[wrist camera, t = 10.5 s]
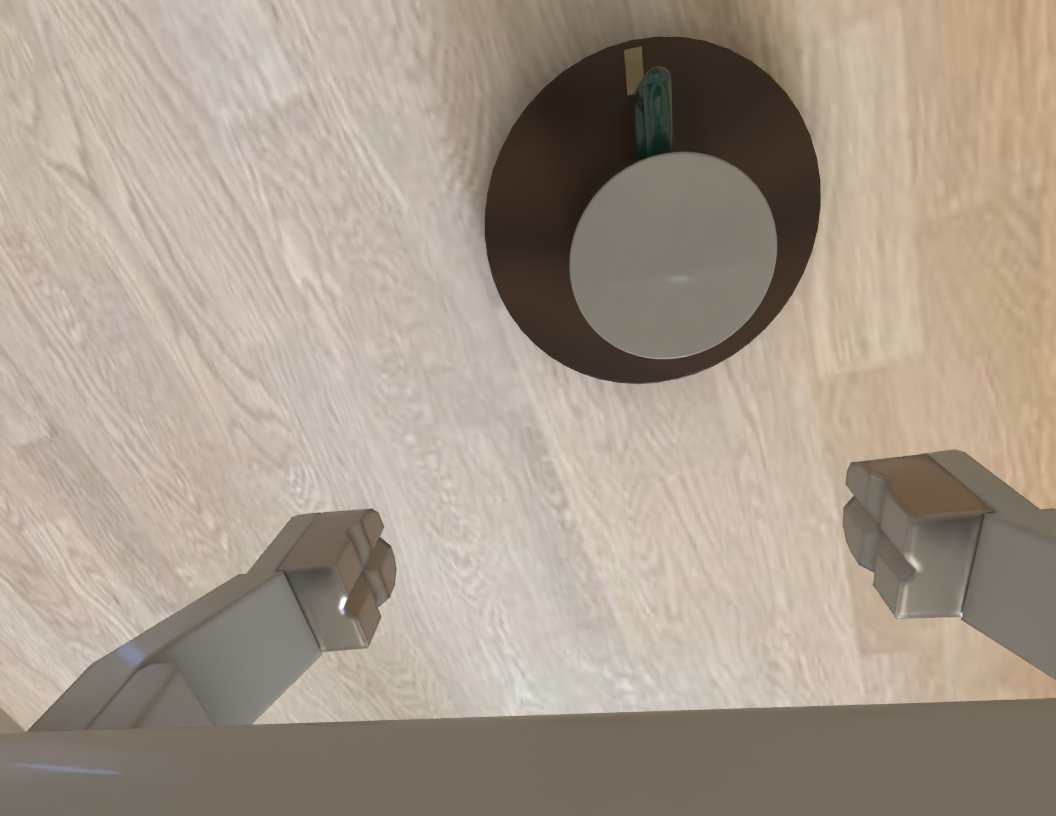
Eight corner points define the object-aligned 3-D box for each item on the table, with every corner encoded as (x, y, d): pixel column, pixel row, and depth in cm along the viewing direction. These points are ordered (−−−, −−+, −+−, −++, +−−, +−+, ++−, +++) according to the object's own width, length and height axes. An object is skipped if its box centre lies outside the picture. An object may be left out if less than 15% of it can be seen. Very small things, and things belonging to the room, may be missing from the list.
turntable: (459, 83, 24) (451, 78, 22) (817, 6, 21) (834, -5, 20) (518, 388, 30) (514, 400, 28) (801, 355, 27) (812, 366, 26)
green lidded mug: (722, 73, 21) (788, 33, 14) (721, 296, 25) (773, 349, 18) (559, 102, 22) (547, 78, 15) (581, 313, 26) (580, 368, 19)
